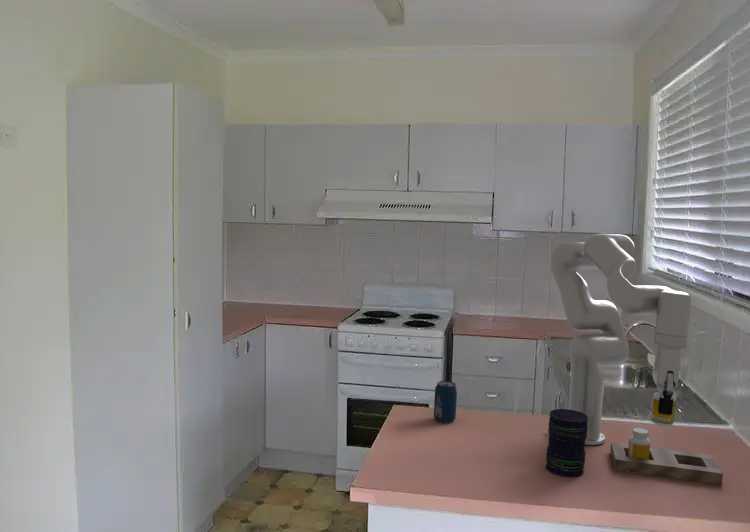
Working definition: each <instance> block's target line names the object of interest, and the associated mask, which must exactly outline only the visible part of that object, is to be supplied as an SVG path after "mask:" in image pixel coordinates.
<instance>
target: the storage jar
mask: <svg viewBox="0 0 750 532" xmlns="http://www.w3.org/2000/svg"><path fill="white" fill-rule="evenodd" d="M587 421H588V416H587V415H585V414H584V413H581V412H578V411H574V410H569V408H568V409H567V408H557V409H552V410H551V411H550V412H549V421H548V429H547V431H548V433H547V434H548V445H547V446H546V455H545V459H546V460H545V461H546V465H545V469H546V470H547V471H548V472H549V473H551V474H553V475H555V476H558V477H562V478H572V479H573V478H579V477H582V476H583V475H584V472H585V471H584V470H585V464H586V451H585V448H586V445H585V440H586V438H587V430H588V427H587V425H588V423H587Z"/></svg>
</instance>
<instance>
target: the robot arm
mask: <svg viewBox="0 0 750 532" xmlns="http://www.w3.org/2000/svg"><path fill="white" fill-rule="evenodd" d="M635 253H636V247H635V244H634V241H633V240H632V239H631V238H630V237H629V236H627V235H625V234H618V233H617V234H616V233H615V234H614V233H598V234H597V233H596V234H593V235H591V236H589V237H588V238H587V239H586V240H585V242H583V241H581V242H579V241H571V242H563V243H560V244H558V245H557V246H555V248H554V249H553V251H552V253H551V256H550V269H551V274H552V276H553V278H554V281H555V283H556V285H557V287H558V290H559V293H560V297H561V300H562V301H561V303H562V305H563V309H564V314H565V316H566V317H565V318H566V321H567V323H568V326H569V327H570V329H572V330H573V331H575V332H599V333H587V334H586V333H585V334H580V335H577V336H575V337H574V338H573V339H572V340H571V342H570V344H569V359H570V383H569V385H570V387H569V401H568V410H574V411H578V412H581V413H584V414H585V415H587V416H588V421H587V423H588V425H587V427H588V430H587V438H586V440H585V446H586V445H587V446H597V445H602V444H604V443H605V442H606V436H605V435H604V433H601V427H602V426H601V423H602V415H603V404H604V403H603V401H604V392H605V391H604V387H605V381H604V378H603V375H602V373H601V372H600V369H599V367H613V366H620V365H621V366H622V365H623V364H625V362H627V361H628V358H629V355H630V348H629V343H628V339H627V338H628V337H627V335H626V332H625V331H626V330H625V328H624V325H623V321H622V318H621V314H620V312H619V309H620V310H622V311H623V312H624V313H626V314H628V315H632V316H641V315H642V316H643V315H644V316H645V315H648V316H649V315H651V316H652V315H653V316H655V317H656V319H655V327H654V338H653V339H654V340H653V345H654V346H656V349H655V356H654V362H653V364H654V365H653V371H652V379H653V382H654V383H655V385H656V387H657V386H659V385H661V397H659V406H658V413H659V414H667V415H672V410H673V400H674V399H673V395H675V394H674V392H675V389H676V388H678V385H679V379H680V372H681V371H680V369H681V359H682V350H686V349H687V347H688V345H687V344H688V335H689V325H690V317H691V316H690V315H691V308H692V297H691V295H690V293H688V292H685V291H679V290H674V289H672V288H670V287H668V286H663V285H634V284H632V283H631V282H630V281H629V280H630V279H631V278H632V276H633V275H634V274H635V272H636V269H637V263H636V260H635V259H634V257H635ZM577 271H600V272H601V273H602V274H603V275H604V276H605V277H606V278H607V279H606V288H607V293H608V296H609V297H610V299H611V300H612V302H611V301H609V300H605V299H604V300H603V299H593V298H592V295H591V293H590V288H589V285H588V283H587V282H586V280H585V279H584V278H583V277H582V275H580V274H579V273H578V272H577ZM616 306H617V307H619V309H618V308H617V307H616ZM664 384H667V386H664ZM664 388H665V389H666V390H665V391H664ZM655 392H657V389H655Z"/></svg>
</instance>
